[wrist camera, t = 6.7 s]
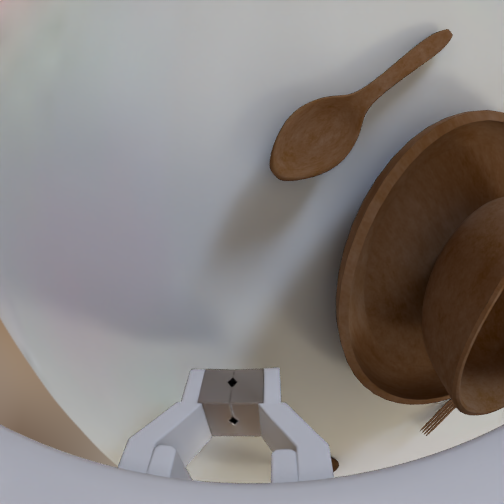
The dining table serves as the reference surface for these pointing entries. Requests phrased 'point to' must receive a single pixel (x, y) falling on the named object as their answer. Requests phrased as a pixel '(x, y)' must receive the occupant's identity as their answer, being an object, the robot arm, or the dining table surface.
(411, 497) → the robot arm
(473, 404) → the place setting
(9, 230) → the dining table surface
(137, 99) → the dining table surface
